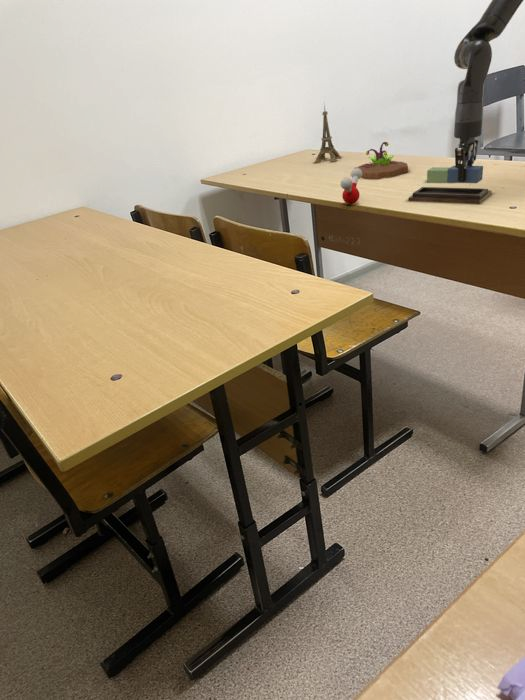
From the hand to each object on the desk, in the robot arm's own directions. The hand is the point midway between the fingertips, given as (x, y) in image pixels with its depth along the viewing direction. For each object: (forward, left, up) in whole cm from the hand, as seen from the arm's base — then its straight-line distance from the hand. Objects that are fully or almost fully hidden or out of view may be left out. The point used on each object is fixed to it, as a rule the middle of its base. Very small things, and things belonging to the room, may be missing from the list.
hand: (464, 179), depth 161 cm
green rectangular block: (+14, -21, -6) cm, 26 cm away
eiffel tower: (+80, -55, -6) cm, 98 cm away
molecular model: (+32, +12, -6) cm, 35 cm away
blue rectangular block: (0, 0, -1) cm, 1 cm away
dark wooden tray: (+4, 0, -6) cm, 7 cm away
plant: (+42, -32, -6) cm, 53 cm away
